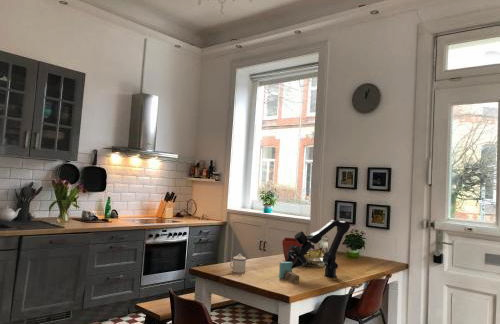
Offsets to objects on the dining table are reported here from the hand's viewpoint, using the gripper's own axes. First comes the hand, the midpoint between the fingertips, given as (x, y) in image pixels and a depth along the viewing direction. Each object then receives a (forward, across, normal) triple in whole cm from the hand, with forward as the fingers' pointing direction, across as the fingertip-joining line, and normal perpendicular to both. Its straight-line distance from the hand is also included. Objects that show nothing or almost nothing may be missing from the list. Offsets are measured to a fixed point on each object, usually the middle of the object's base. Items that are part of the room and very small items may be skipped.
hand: (288, 266), depth 261 cm
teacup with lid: (+25, -20, -15) cm, 35 cm away
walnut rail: (+6, +6, +4) cm, 10 cm away
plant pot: (-16, -49, +27) cm, 58 cm away
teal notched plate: (+6, 0, +4) cm, 7 cm away
